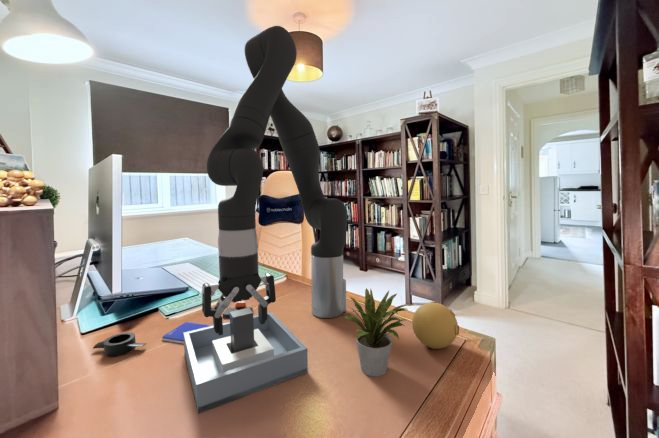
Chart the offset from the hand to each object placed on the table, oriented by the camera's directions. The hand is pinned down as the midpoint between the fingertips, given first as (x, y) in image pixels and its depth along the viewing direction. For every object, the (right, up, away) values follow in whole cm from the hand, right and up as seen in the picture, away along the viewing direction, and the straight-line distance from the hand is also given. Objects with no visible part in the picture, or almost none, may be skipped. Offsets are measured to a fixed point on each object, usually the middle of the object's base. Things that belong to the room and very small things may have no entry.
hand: (241, 328), depth 60 cm
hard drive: (-15, -7, +13) cm, 21 cm away
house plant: (+27, -8, -3) cm, 28 cm away
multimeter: (-10, -5, +31) cm, 33 cm away
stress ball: (+42, -7, +7) cm, 43 cm away
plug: (0, -7, +1) cm, 7 cm away
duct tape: (-29, -8, +6) cm, 31 cm away
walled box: (0, -8, +1) cm, 8 cm away
